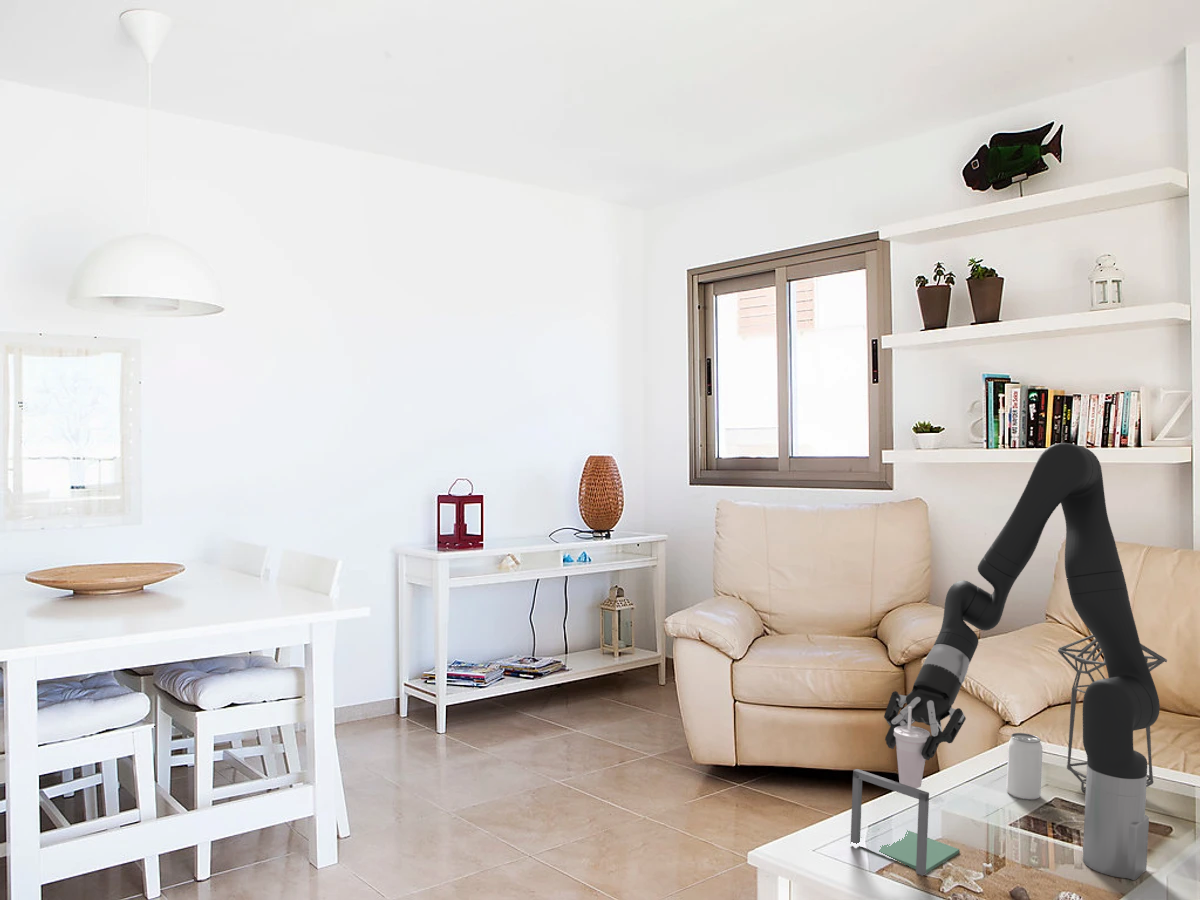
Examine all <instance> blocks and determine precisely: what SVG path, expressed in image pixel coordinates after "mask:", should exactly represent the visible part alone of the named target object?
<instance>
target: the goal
mask: <svg viewBox="0 0 1200 900" xmlns="http://www.w3.org/2000/svg"><path fill="white" fill-rule="evenodd" d="M863 781H864V782H867V783H868V784H869V783H870V784H873V785H875V786H878V787H880V788H884V789H888V790H891V791H894V792H897V793H899V794H902V795H905V796H908V797H911V798H914V799H917V800H918V806H917V807H918V814H917V833H916V832H913V831H911V830H909V829H906V830H907V832H908V834H907V832H906V834H905V837H904V839H903V838H902V840H901V841H900V839H899V841H897V842H896V843H895V842H894V843H893V844H892V845H891V846H889V845H890V844H889V845H888V844H887V845H884V846H883V845H882V847H881V846H880V847H881V849H880V850H879V852H881V853H883V854H885V855H887V856H889V857H891V858H893V859H895V860H897V861H899V862H901V863H903V864H905V865H904V866H906V865H908V866H909V868H911V869H914V870H915V874H916V875H919V876H921V877H922V876H924V875H926V874H928V873H929V872H931V871H933V869H934V870H935V869H936V868H937V867H939V866H941V865H942V864H944V863H945V862H948V861H949V860H950V859H951V858H953V857H955V856H956V855H958V854H959V853H960V849H959V848H957V847H954V846H951V845H949V844H947V843H943V842H941V841H938V840H935V839H933V838H930V837H928V830H929V810H930V809H929V808H930V807H929V805H930V792H928V791H925V790H923V789H919V788H913V787H910V786H907V785H904V784H901V783H899V782H898V781H896V780H895V781H894V780H893V779H888V778H886V777H882V776H880V775H877V774H874V773H870V772H868V771H865V770H862V769H859V768H856V769H853V770H852V790H851V792H852V793H851V794H852V795H851V816H850V817H851V820H850V821H851V822H850V823H851V824H850V843H851V842H853V843H856V844H857V843H859V842H860V838H861V827H862V823H861V822H862V797H863V795H862V794H863ZM908 830H909V831H908ZM906 835H907V836H906ZM887 846H888V847H887ZM901 863H900V864H901ZM903 864H902V865H903ZM908 866H907V867H908Z"/></svg>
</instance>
